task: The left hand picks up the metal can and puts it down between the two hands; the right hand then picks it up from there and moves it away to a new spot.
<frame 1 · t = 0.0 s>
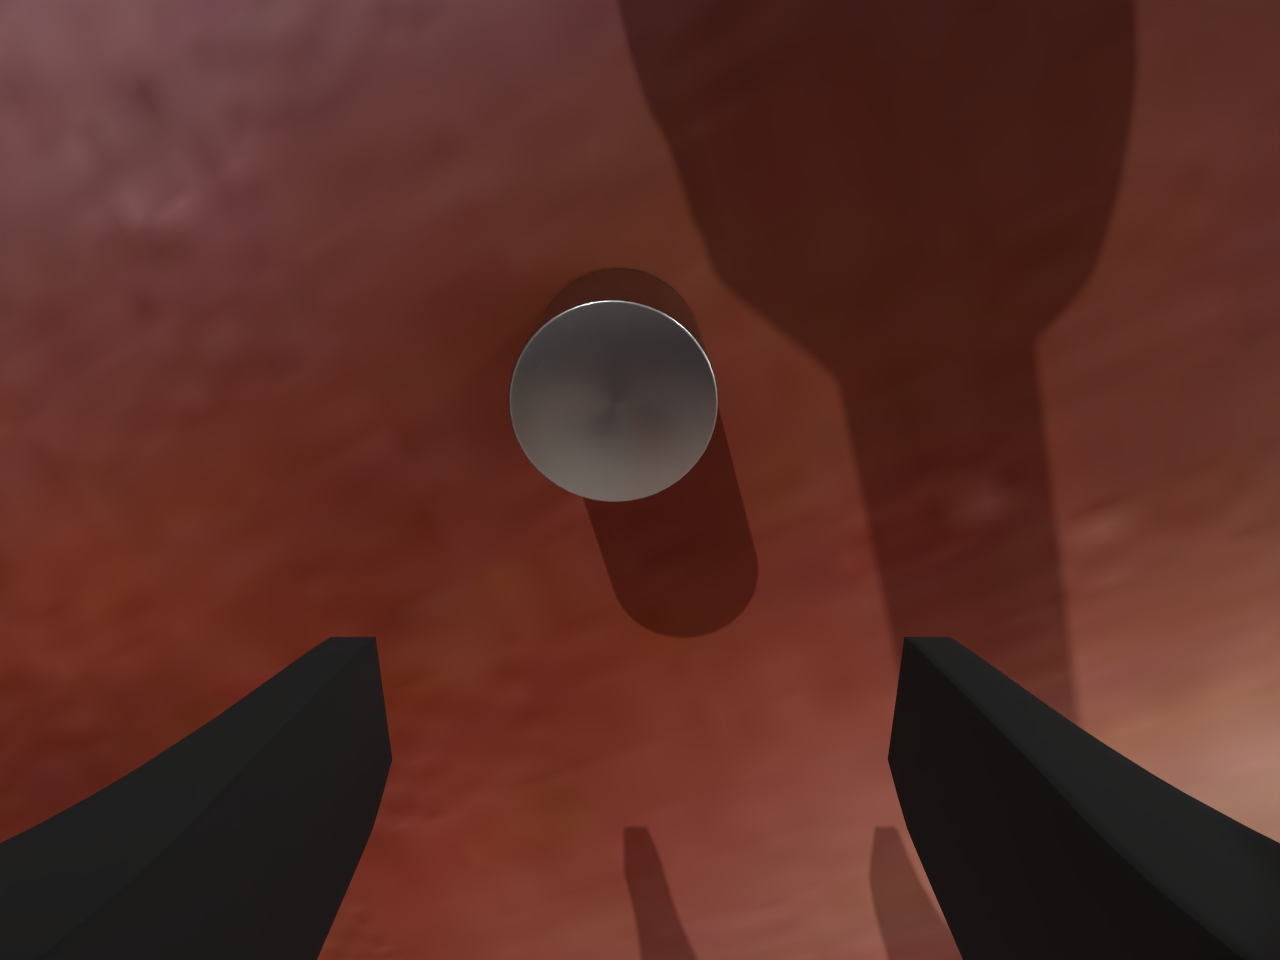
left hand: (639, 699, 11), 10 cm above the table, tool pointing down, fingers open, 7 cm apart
can: (619, 352, 20), on the table
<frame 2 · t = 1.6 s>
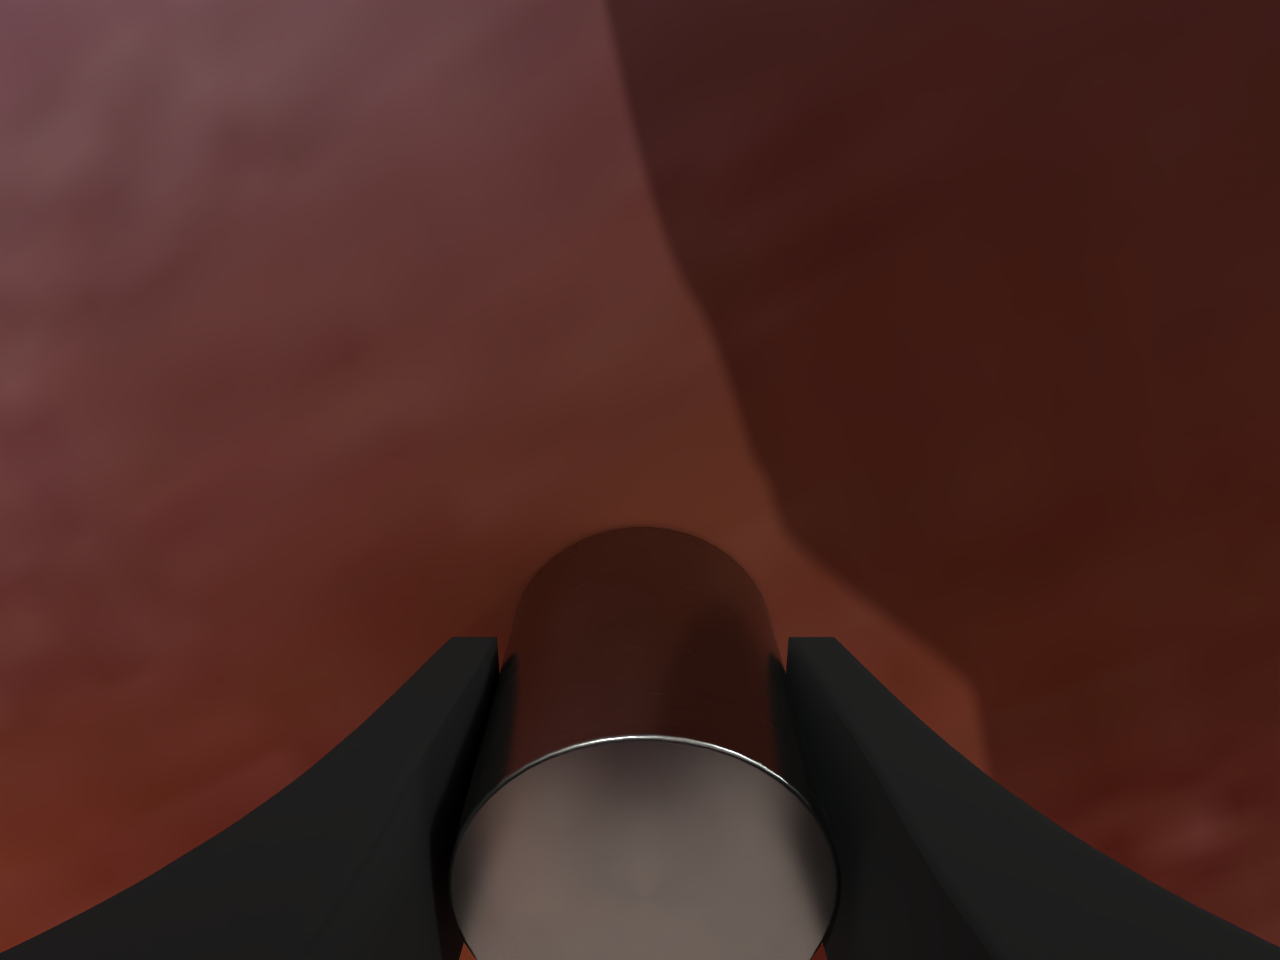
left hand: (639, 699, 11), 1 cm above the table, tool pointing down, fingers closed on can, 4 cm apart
can: (642, 643, 13), on the table, touching left hand
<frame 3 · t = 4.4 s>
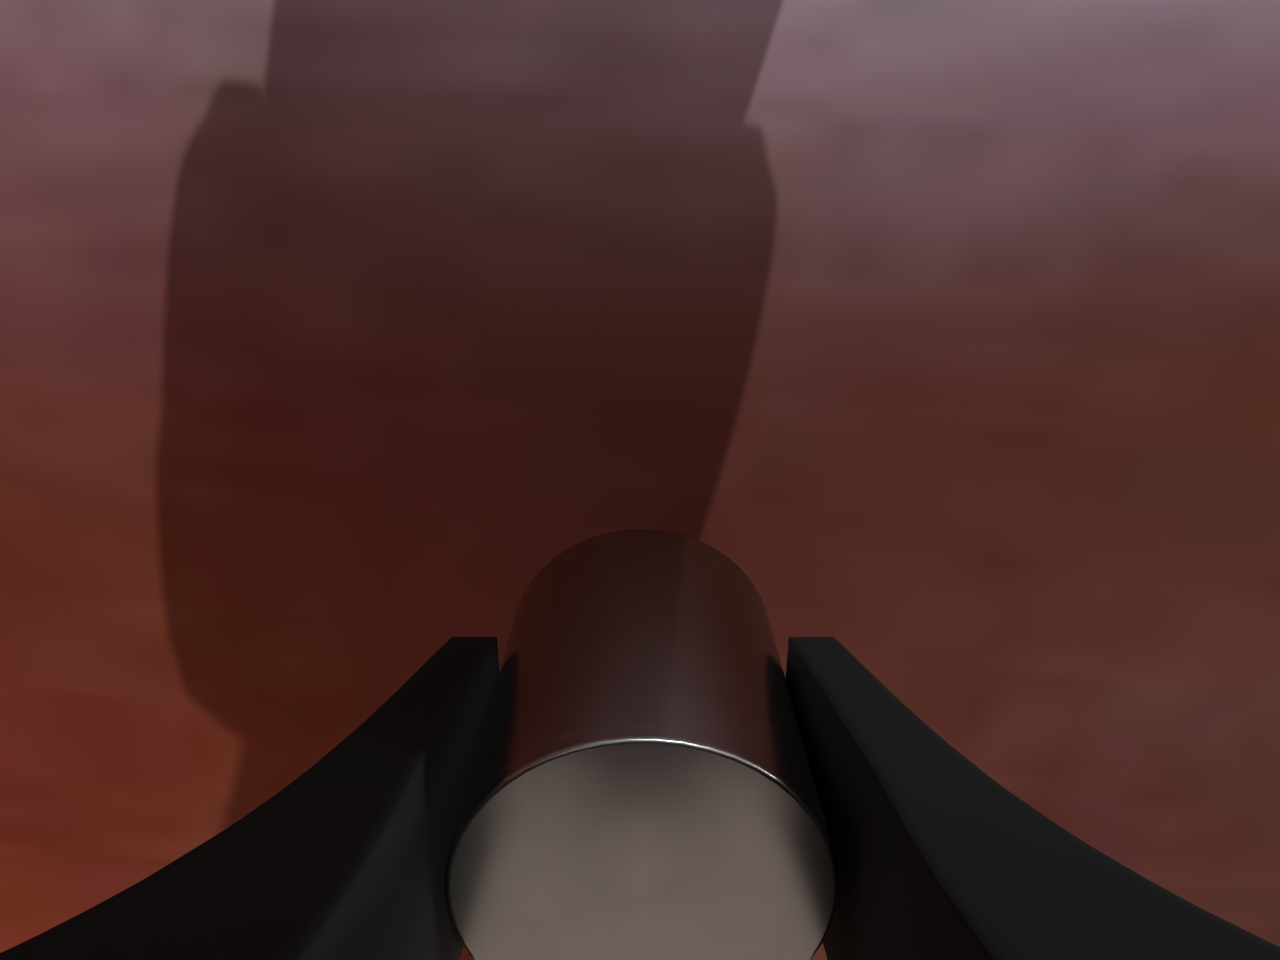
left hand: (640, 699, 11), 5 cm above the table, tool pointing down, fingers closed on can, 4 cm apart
can: (641, 644, 13), point 4 cm above the table, touching left hand
when the left hand's fingers open (3 cm above the table, at t = 7.4 s): can drops 1 cm, on the table.
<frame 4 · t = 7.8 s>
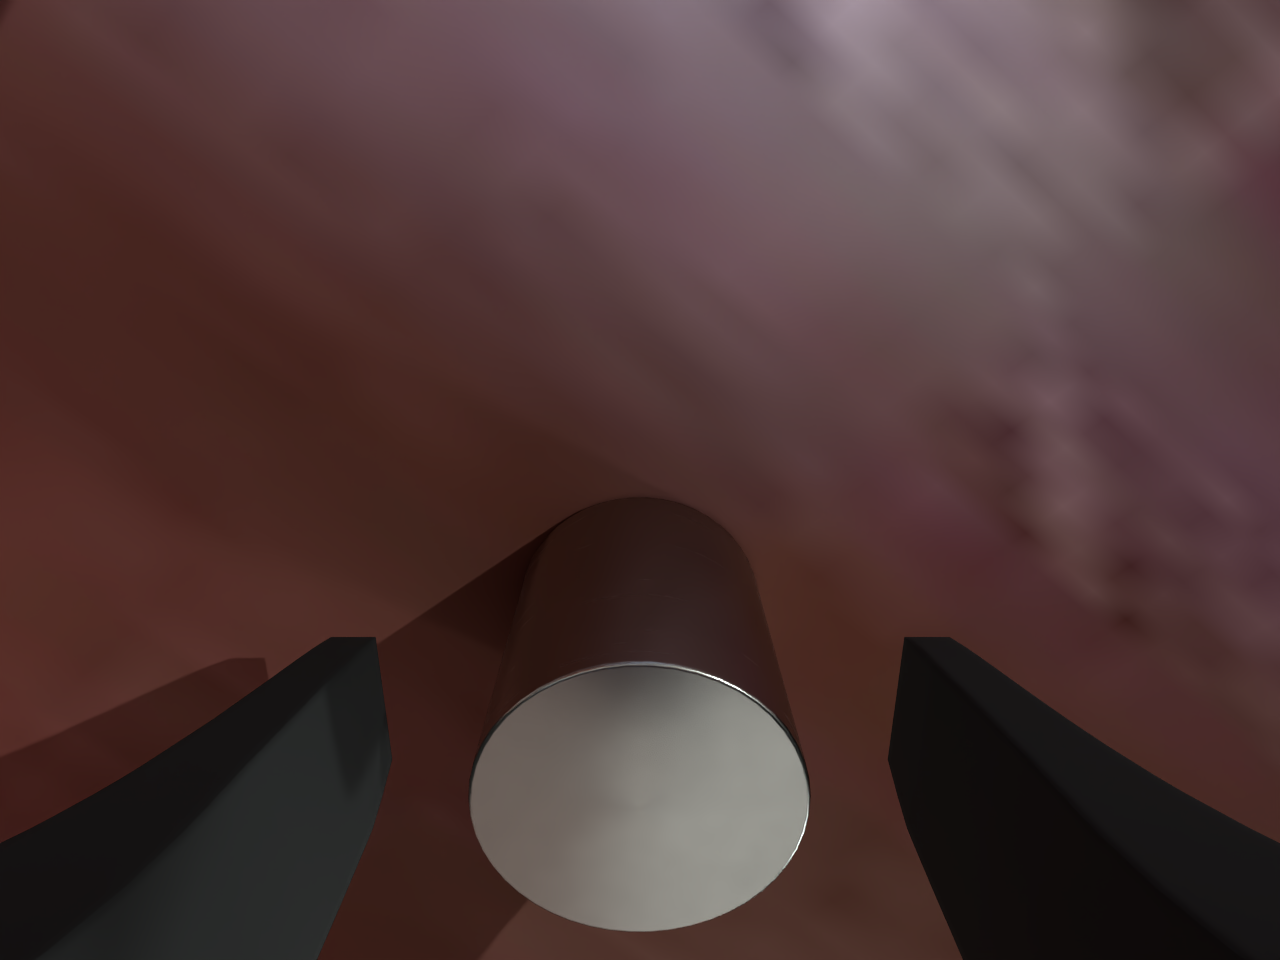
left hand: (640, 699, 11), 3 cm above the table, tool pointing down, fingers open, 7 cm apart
can: (639, 604, 14), on the table
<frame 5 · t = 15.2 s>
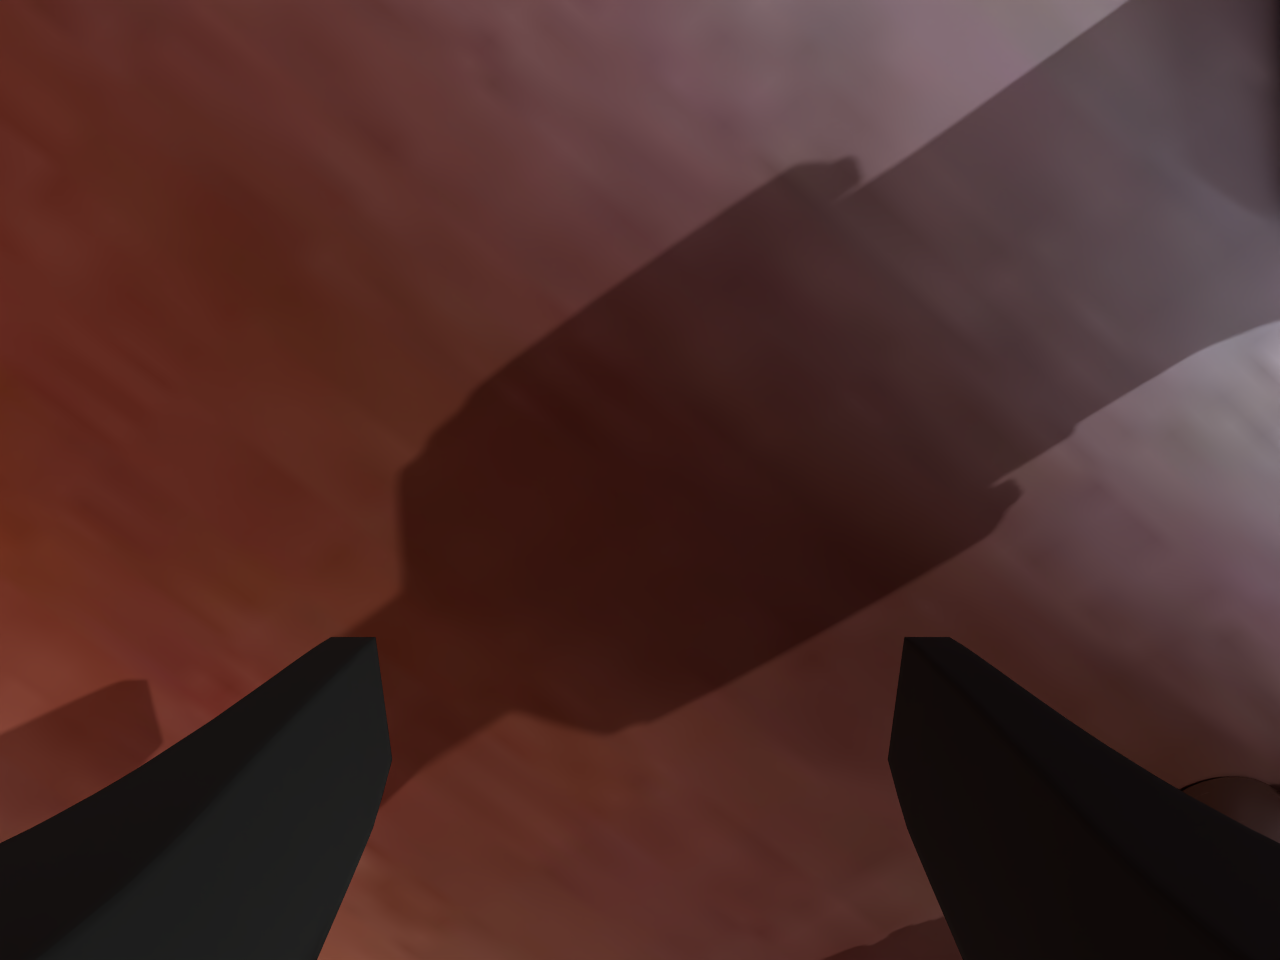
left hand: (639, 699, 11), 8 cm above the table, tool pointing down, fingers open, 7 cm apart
can: (1214, 832, 23), on the table, touching right hand
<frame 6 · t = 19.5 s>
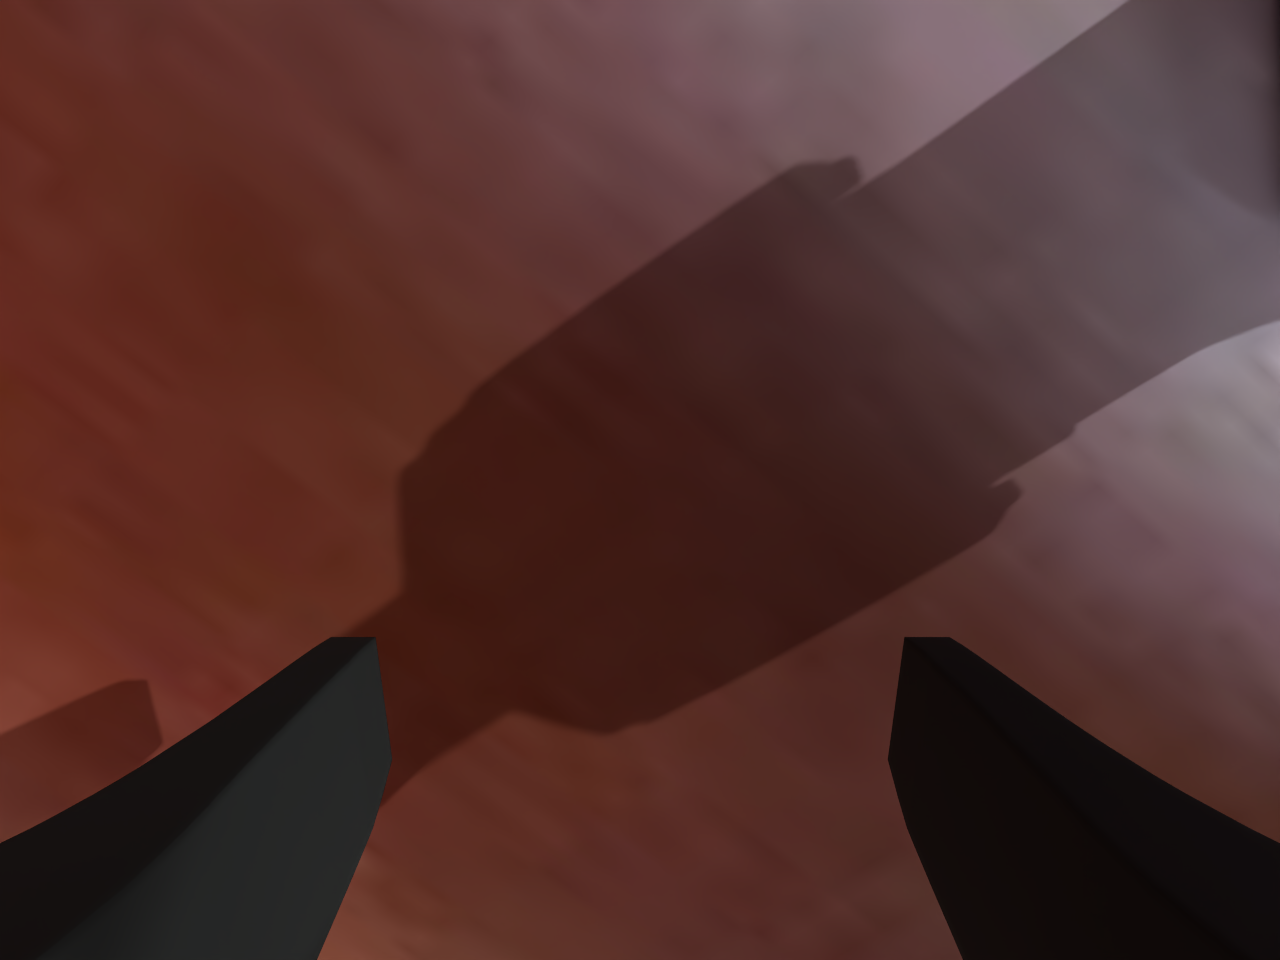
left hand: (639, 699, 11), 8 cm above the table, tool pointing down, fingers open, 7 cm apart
when the right hand's fingers open (2 cm above the table, at t = 23.9 s): can drops 1 cm, on the table.
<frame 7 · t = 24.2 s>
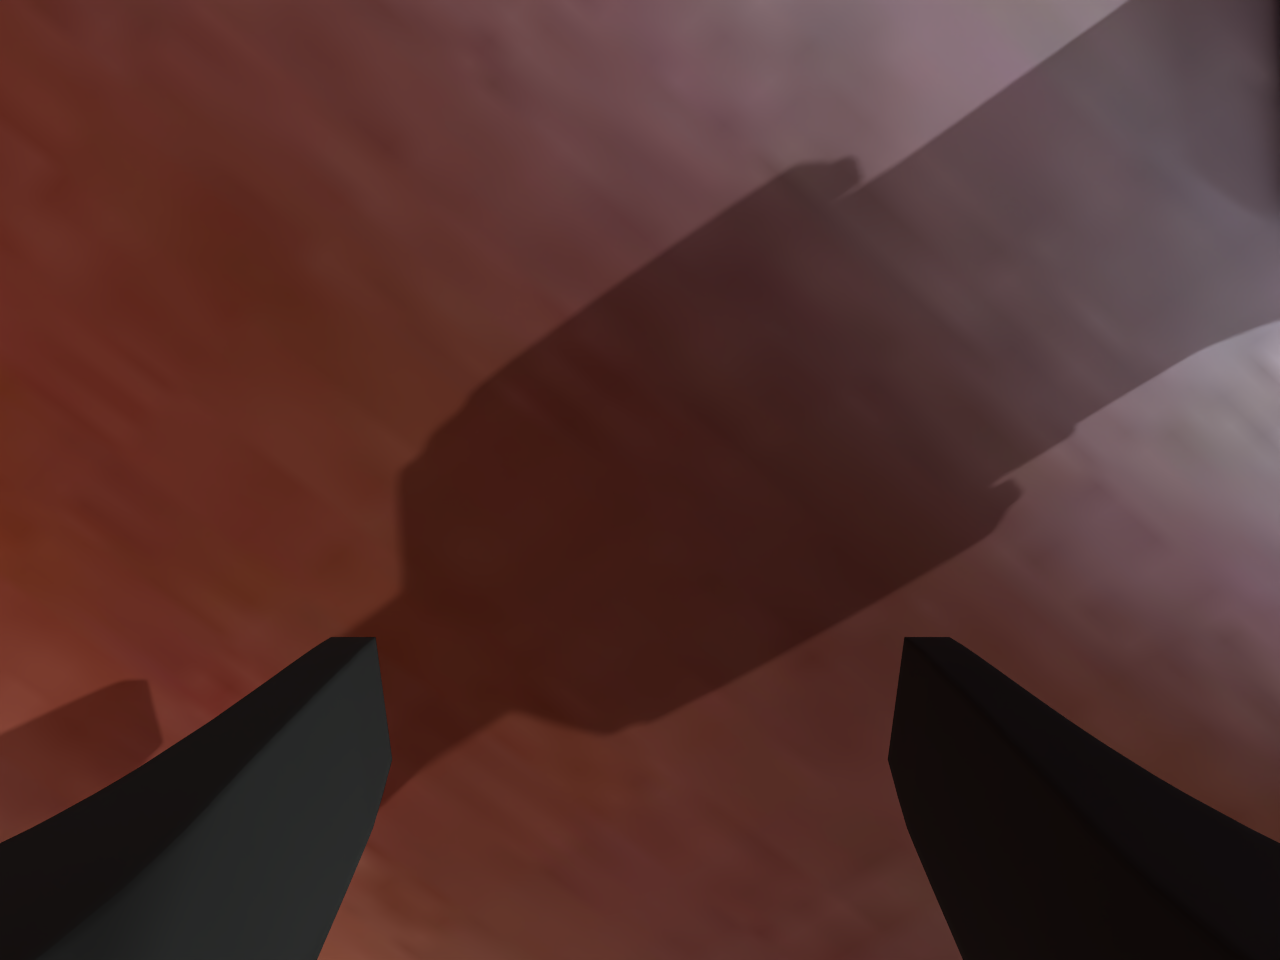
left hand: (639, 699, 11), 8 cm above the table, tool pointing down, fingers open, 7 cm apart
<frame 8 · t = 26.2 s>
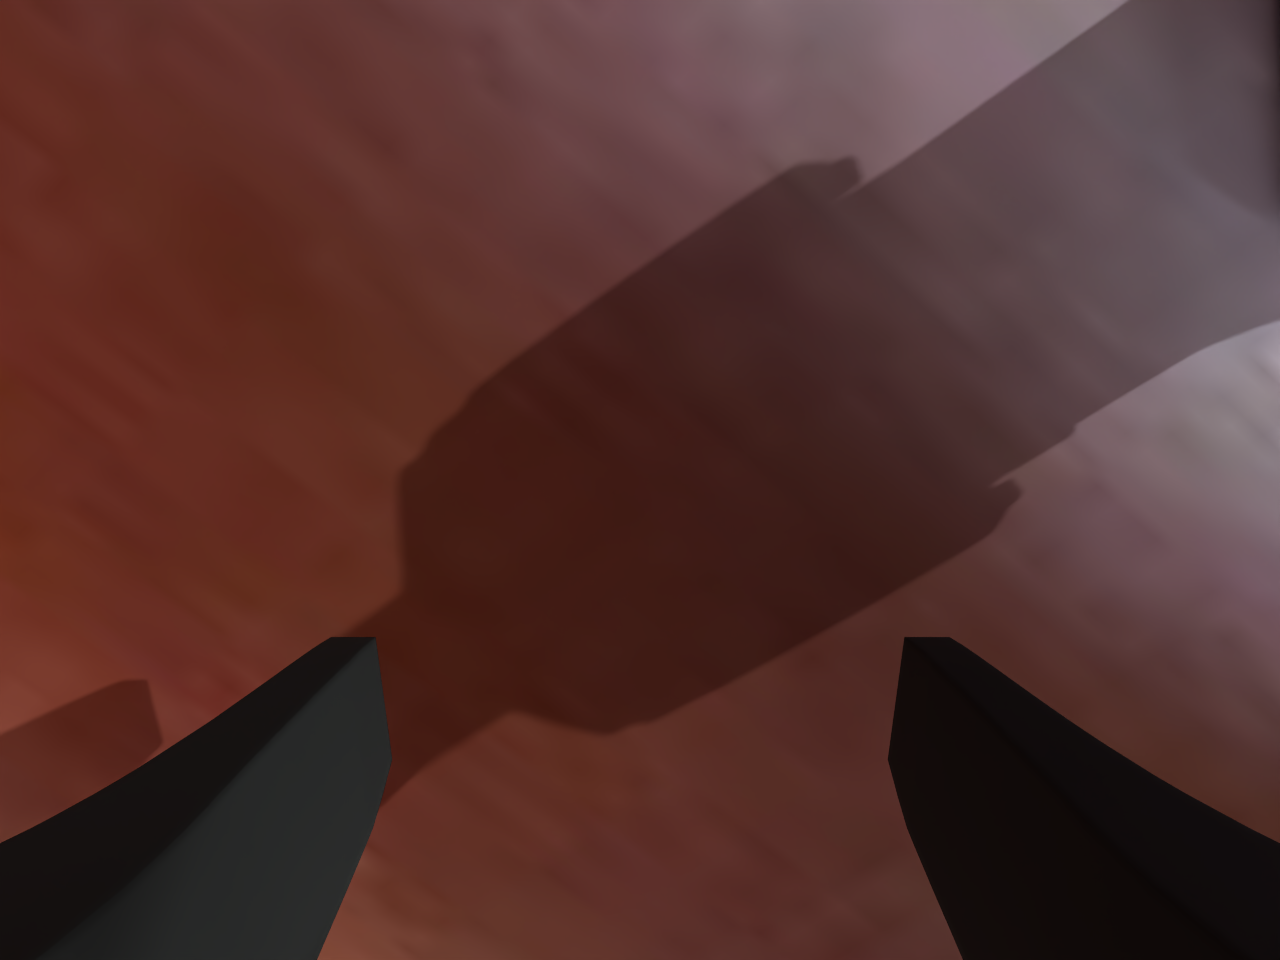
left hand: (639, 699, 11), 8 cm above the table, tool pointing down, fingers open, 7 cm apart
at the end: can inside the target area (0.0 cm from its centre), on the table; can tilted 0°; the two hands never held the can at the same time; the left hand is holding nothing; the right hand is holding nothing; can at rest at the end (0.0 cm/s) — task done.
